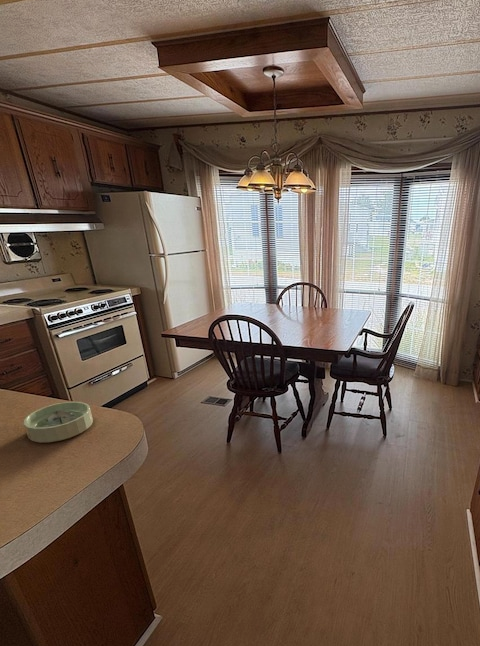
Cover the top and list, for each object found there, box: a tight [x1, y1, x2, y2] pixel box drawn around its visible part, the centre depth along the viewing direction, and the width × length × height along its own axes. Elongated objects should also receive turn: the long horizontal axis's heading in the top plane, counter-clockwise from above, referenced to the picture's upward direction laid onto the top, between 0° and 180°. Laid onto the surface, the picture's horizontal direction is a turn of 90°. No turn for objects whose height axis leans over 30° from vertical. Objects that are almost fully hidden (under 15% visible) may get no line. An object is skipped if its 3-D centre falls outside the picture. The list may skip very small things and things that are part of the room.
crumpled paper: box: [43, 411, 77, 427], centre depth 98 cm, size 4×8×7 cm, turn 127°
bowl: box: [23, 401, 94, 443], centre depth 98 cm, size 15×15×5 cm
